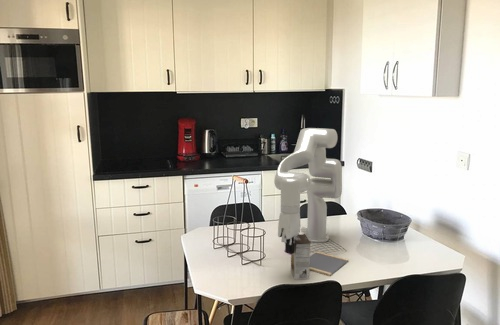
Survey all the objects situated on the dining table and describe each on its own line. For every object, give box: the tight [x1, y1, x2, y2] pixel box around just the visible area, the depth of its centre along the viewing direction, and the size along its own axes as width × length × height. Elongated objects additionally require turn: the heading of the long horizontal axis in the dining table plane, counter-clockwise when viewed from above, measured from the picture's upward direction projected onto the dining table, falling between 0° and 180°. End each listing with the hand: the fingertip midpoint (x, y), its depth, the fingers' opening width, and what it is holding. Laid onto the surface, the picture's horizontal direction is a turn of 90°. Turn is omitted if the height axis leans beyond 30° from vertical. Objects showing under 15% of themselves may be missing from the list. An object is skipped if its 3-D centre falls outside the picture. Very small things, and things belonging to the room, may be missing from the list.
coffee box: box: [290, 233, 311, 280], centre depth 177 cm, size 9×6×16 cm
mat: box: [309, 250, 349, 277], centre depth 188 cm, size 16×18×1 cm
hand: (289, 252), depth 169 cm, fingers closed
